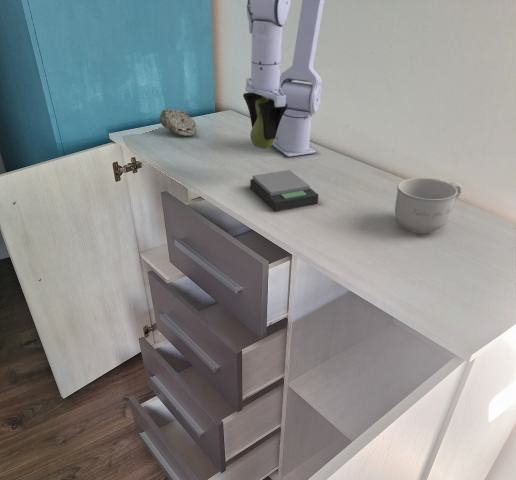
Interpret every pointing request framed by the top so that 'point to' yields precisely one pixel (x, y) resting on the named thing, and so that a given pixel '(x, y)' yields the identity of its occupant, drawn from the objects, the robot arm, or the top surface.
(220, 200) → the top surface
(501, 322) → the top surface
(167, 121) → the rock sample
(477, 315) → the top surface
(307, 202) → the scale
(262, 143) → the pear
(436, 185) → the teacup
